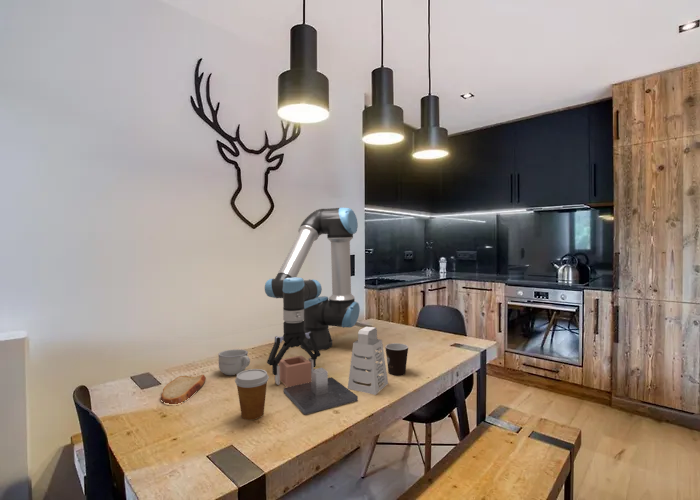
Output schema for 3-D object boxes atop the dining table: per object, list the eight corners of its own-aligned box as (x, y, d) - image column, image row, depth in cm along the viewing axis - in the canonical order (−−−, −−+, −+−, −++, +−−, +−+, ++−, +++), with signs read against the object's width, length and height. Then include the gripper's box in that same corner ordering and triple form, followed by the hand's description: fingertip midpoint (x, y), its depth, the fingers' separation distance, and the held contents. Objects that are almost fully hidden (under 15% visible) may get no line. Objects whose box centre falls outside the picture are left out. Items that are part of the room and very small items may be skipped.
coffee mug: (407, 377, 134) (407, 350, 134) (384, 376, 136) (384, 349, 135) (409, 366, 145) (409, 341, 145) (387, 365, 147) (387, 340, 147)
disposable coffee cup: (270, 420, 104) (269, 378, 104) (235, 425, 101) (234, 382, 101) (268, 405, 113) (267, 366, 113) (235, 409, 110) (235, 370, 110)
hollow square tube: (278, 378, 134) (278, 359, 134) (301, 373, 139) (301, 355, 139) (287, 387, 127) (286, 367, 126) (311, 381, 131) (311, 362, 131)
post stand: (283, 392, 122) (283, 367, 122) (331, 381, 131) (331, 358, 131) (304, 414, 107) (304, 386, 106) (357, 400, 116) (357, 374, 115)
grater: (388, 383, 129) (387, 327, 128) (375, 394, 120) (375, 334, 119) (361, 378, 134) (361, 324, 133) (347, 388, 125) (346, 330, 124)
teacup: (213, 373, 141) (213, 352, 140) (239, 365, 149) (238, 346, 148) (232, 382, 131) (231, 360, 131) (258, 374, 139) (257, 353, 139)
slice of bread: (170, 409, 112) (169, 397, 112) (146, 393, 124) (146, 382, 123) (223, 390, 126) (223, 379, 125) (197, 377, 137) (197, 367, 137)
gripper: (263, 327, 123) (264, 390, 123) (329, 318, 135) (329, 376, 135) (257, 322, 129) (258, 383, 130) (320, 315, 141) (321, 370, 142)
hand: (294, 379), depth 133 cm, fingers open, 12 cm apart
